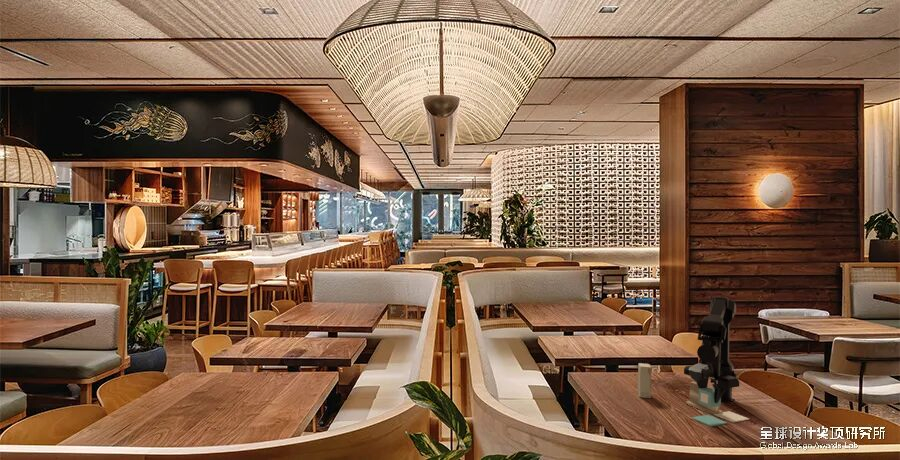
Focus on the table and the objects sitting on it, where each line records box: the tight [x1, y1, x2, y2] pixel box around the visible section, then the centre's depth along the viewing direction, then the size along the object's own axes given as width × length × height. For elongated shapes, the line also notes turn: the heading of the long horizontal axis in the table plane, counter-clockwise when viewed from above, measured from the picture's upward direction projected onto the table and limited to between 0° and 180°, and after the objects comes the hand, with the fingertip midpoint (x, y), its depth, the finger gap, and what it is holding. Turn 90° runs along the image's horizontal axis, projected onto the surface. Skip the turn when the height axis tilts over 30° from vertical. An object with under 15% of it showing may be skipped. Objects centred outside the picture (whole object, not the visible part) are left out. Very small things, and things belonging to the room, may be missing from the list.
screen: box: [685, 381, 724, 416], centre depth 205 cm, size 4×13×8 cm, turn 24°
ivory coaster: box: [713, 410, 750, 423], centre depth 197 cm, size 8×8×1 cm
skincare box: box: [637, 362, 652, 399], centre depth 220 cm, size 6×4×12 cm
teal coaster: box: [691, 414, 728, 427], centre depth 193 cm, size 8×8×1 cm
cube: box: [698, 386, 722, 407], centre depth 193 cm, size 5×5×5 cm
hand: (709, 400), depth 193 cm, fingers closed on cube, 5 cm apart
